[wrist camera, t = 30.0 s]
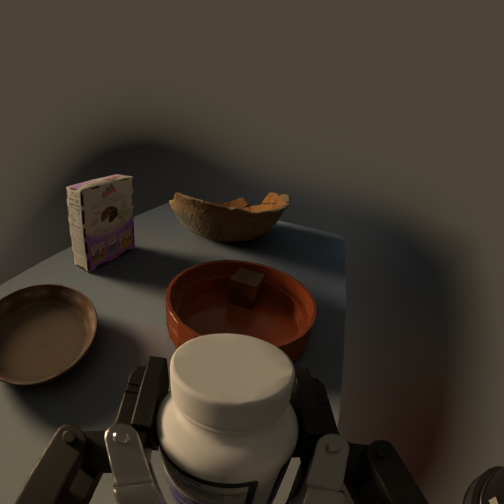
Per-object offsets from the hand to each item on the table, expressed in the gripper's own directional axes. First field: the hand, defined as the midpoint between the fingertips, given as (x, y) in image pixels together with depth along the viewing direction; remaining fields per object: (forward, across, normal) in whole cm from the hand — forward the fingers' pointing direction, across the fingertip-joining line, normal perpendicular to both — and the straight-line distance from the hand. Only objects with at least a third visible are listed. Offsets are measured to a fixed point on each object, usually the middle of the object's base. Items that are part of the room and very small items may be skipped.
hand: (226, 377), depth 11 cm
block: (+31, -4, +17) cm, 35 cm away
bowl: (+25, -3, +17) cm, 30 cm away
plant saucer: (+14, +26, +18) cm, 35 cm away
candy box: (+42, +26, +17) cm, 52 cm away
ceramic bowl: (+60, 0, +17) cm, 62 cm away
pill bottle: (-4, 0, +6) cm, 8 cm away
